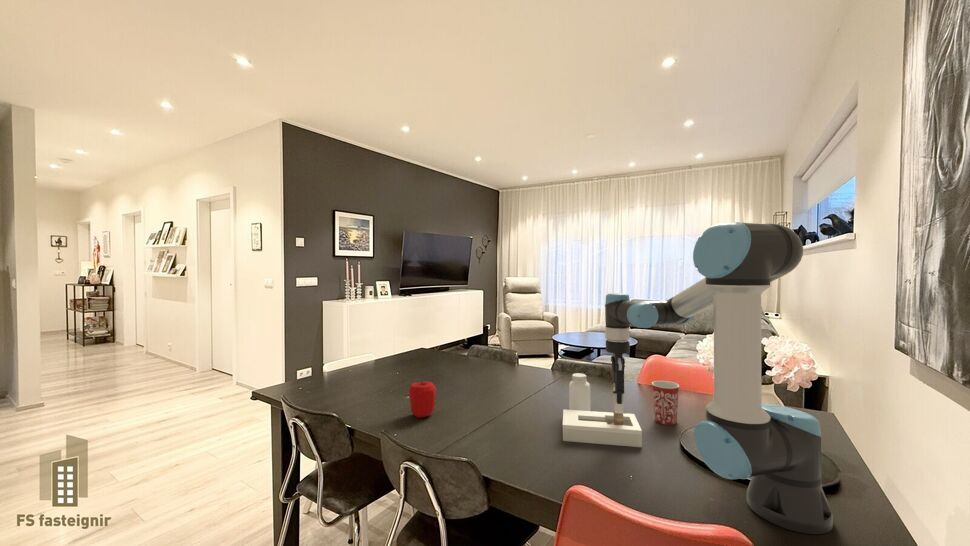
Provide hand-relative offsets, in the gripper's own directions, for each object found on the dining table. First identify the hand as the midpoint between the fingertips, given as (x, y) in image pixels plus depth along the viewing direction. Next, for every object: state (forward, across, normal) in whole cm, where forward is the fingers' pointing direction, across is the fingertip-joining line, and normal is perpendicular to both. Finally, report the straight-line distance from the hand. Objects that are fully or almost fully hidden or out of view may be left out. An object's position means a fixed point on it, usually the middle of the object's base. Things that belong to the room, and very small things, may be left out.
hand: (618, 410), depth 126 cm
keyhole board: (+8, 0, +6) cm, 10 cm away
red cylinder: (+9, +5, +71) cm, 72 cm away
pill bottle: (+9, +18, +12) cm, 23 cm away
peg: (+8, 0, 0) cm, 8 cm away
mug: (+9, +18, -19) cm, 28 cm away
